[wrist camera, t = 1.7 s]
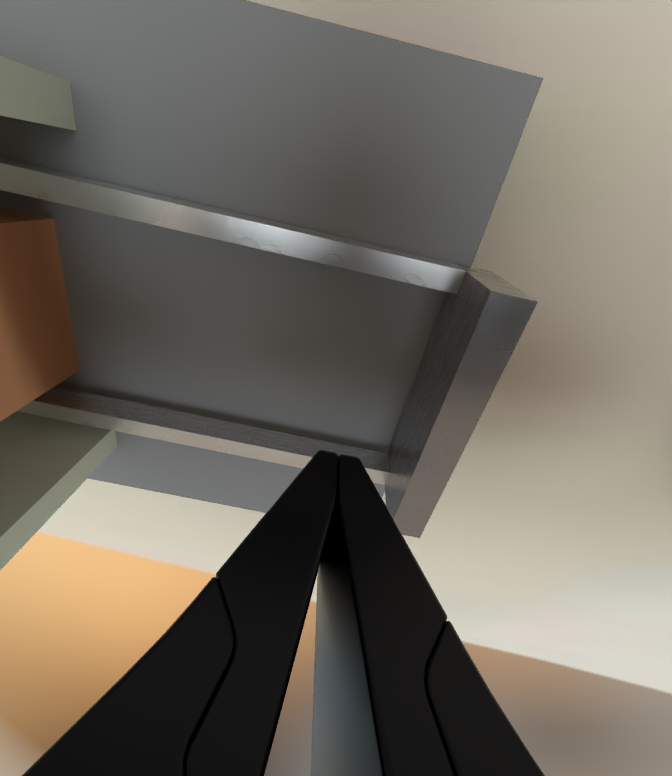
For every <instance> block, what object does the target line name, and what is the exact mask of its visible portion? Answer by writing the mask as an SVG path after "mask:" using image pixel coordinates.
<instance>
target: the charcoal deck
mask: <svg viewBox="0 0 672 776" xmlns="http://www.w3.org/2000/svg"><path fill="white" fill-rule="evenodd" d="M0 56H2V57H5V58H8V59H10V60H13V61H16V62H18V63H21V64H24V65H27V66H29V67H32V68H35V69H38V70H40V71H43V72H46V73H48V74H51V75H54V76H57V77H59V78H62V79H65V80H67V81H70V86H71V94H72V101H73V109H74V117H75V124H76V131H75V130H70V129H65V128H60V127H55V126H50V125H45V124H40V123H35V122H30V121H25V120H20V119H15V118H10V117H5V116H1V115H0V158H4V159H9V160H13V161H17V162H21V163H26V164H30V165H34V166H39V167H43V168H47V169H51V170H56V171H60V172H64V173H69V174H73V175H77V176H82V177H86V178H90V179H94V180H99V181H103V182H107V183H112V184H116V185H120V186H124V187H129V188H133V189H137V190H142V191H146V192H150V193H155V194H159V195H163V196H167V197H172V198H176V199H180V200H185V201H189V202H193V203H197V204H202V205H206V206H210V207H215V208H219V209H223V210H228V211H232V212H236V213H240V214H245V215H249V216H253V217H258V218H262V219H266V220H270V221H275V222H279V223H283V224H288V225H292V226H296V227H301V228H305V229H309V230H313V231H318V232H322V233H326V234H331V235H335V236H339V237H343V238H348V239H352V240H356V241H361V242H365V243H369V244H374V245H378V246H382V247H386V248H391V249H395V250H399V251H404V252H408V253H412V254H416V255H421V256H425V257H429V258H434V259H438V260H442V261H447V262H451V263H455V264H459V265H464V266H468V267H471V265H472V262H473V260H474V257H475V254H476V252H477V249H478V247H479V244H480V241H481V239H482V236H483V234H484V231H485V228H486V226H487V223H488V221H489V218H490V215H491V213H492V210H493V208H494V205H495V202H496V200H497V197H498V194H499V192H500V189H501V187H502V184H503V181H504V179H505V176H506V174H507V171H508V168H509V166H510V163H511V161H512V158H513V155H514V153H515V150H516V148H517V145H518V142H519V140H520V137H521V135H522V132H523V129H524V127H525V124H526V122H527V119H528V116H529V114H530V111H531V109H532V106H533V103H534V101H535V98H536V96H537V93H538V90H539V88H540V85H541V83H542V80H543V78H540V77H536V76H532V75H528V74H525V73H521V72H517V71H513V70H509V69H506V68H502V67H498V66H494V65H490V64H486V63H483V62H479V61H475V60H471V59H467V58H463V57H460V56H456V55H452V54H448V53H444V52H441V51H437V50H433V49H429V48H425V47H421V46H418V45H414V44H410V43H406V42H402V41H399V40H395V39H391V38H387V37H383V36H379V35H376V34H372V33H368V32H364V31H360V30H357V29H353V28H349V27H345V26H341V25H337V24H334V23H330V22H326V21H322V20H318V19H315V18H311V17H307V16H303V15H299V14H295V13H292V12H288V11H284V10H280V9H276V8H272V7H269V6H265V5H261V4H257V3H253V2H250V1H246V0H0ZM0 207H5V208H9V209H14V210H18V211H23V212H27V213H31V214H36V215H40V216H45V217H49V218H53V219H54V223H55V229H56V235H57V240H58V246H59V252H60V257H61V263H62V269H63V275H64V280H65V286H66V292H67V298H68V303H69V309H70V315H71V321H72V326H73V332H74V338H75V344H76V349H77V355H78V361H79V367H80V370H79V371H78V372H76V373H75V374H73V375H71V376H70V377H68V378H67V379H65V380H64V381H62V382H61V383H59V384H58V385H56V386H57V387H62V388H67V389H72V390H77V391H82V392H86V393H91V394H96V395H101V396H106V397H111V398H116V399H121V400H126V401H130V402H135V403H140V404H145V405H150V406H155V407H160V408H165V409H170V410H174V411H179V412H184V413H189V414H194V415H199V416H204V417H209V418H214V419H218V420H223V421H228V422H233V423H238V424H243V425H248V426H253V427H258V428H262V429H267V430H272V431H277V432H282V433H287V434H292V435H297V436H302V437H306V438H311V439H316V440H321V441H326V442H331V443H336V444H341V445H346V446H350V447H355V448H360V449H365V450H370V451H375V452H380V453H385V454H388V451H389V449H390V446H391V443H392V440H393V438H394V435H395V432H396V429H397V427H398V424H399V421H400V418H401V416H402V413H403V410H404V407H405V405H406V402H407V399H408V396H409V394H410V391H411V388H412V385H413V383H414V380H415V377H416V374H417V372H418V369H419V366H420V363H421V361H422V358H423V355H424V352H425V350H426V347H427V344H428V341H429V339H430V336H431V333H432V330H433V328H434V325H435V322H436V319H437V317H438V314H439V311H440V308H441V306H442V303H443V300H444V297H445V295H446V292H445V291H441V290H436V289H432V288H427V287H423V286H419V285H414V284H410V283H406V282H401V281H397V280H392V279H388V278H384V277H379V276H375V275H371V274H366V273H362V272H357V271H353V270H349V269H344V268H340V267H336V266H331V265H327V264H322V263H318V262H314V261H309V260H305V259H301V258H296V257H292V256H287V255H283V254H279V253H274V252H270V251H266V250H261V249H257V248H252V247H248V246H244V245H239V244H235V243H231V242H226V241H222V240H217V239H213V238H209V237H204V236H200V235H196V234H191V233H187V232H182V231H178V230H174V229H169V228H165V227H161V226H156V225H152V224H147V223H143V222H139V221H134V220H130V219H126V218H121V217H117V216H113V215H108V214H104V213H99V212H95V211H91V210H86V209H82V208H78V207H73V206H69V205H64V204H60V203H56V202H51V201H47V200H43V199H38V198H34V197H29V196H25V195H21V194H16V193H12V192H8V191H3V190H0ZM116 439H117V447H116V448H115V449H114V450H113V452H112V453H111V454H110V455H109V456H108V457H107V458H106V459H105V460H104V461H103V462H102V463H101V464H100V465H99V466H98V467H97V468H96V469H95V471H94V472H93V473H92V474H91V475H90V476H89V477H88V478H89V479H94V480H99V481H104V482H110V483H115V484H120V485H125V486H130V487H135V488H141V489H146V490H151V491H156V492H161V493H166V494H172V495H177V496H182V497H187V498H192V499H198V500H203V501H208V502H213V503H218V504H223V505H229V506H234V507H239V508H244V509H249V510H254V511H260V512H265V513H267V512H268V510H269V509H270V508H271V507H272V506H273V504H274V503H275V502H276V501H277V500H278V498H279V497H280V496H281V495H282V494H283V492H284V491H285V490H286V489H287V487H288V486H289V485H290V484H291V483H292V481H293V480H294V479H295V478H296V477H297V475H298V474H299V473H300V472H301V471H302V469H303V468H298V467H293V466H288V465H283V464H278V463H273V462H268V461H263V460H258V459H253V458H248V457H243V456H238V455H233V454H228V453H223V452H218V451H213V450H208V449H203V448H198V447H193V446H188V445H183V444H178V443H173V442H168V441H163V440H158V439H153V438H148V437H143V436H138V435H133V434H128V433H123V432H118V431H116ZM373 484H374V485H375V487H376V489H377V491H378V493H379V494H380V496H381V498H382V496H383V494H384V491H385V485H383V484H378V483H373Z"/></svg>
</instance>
